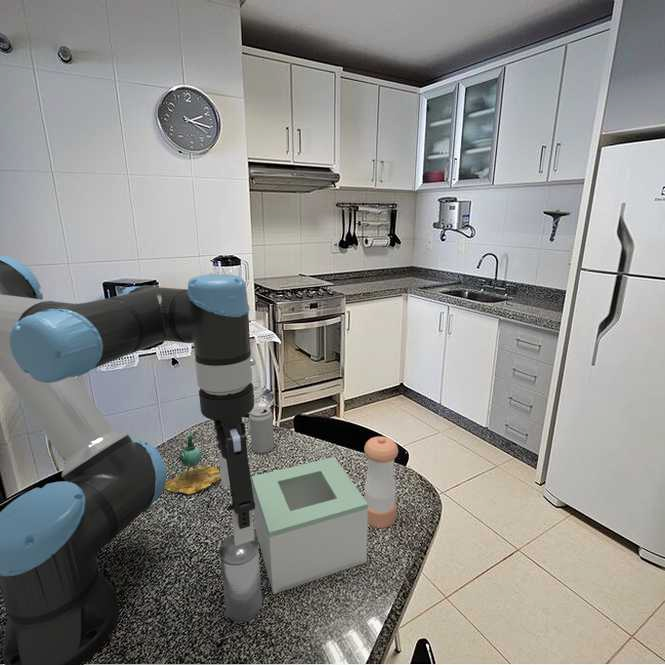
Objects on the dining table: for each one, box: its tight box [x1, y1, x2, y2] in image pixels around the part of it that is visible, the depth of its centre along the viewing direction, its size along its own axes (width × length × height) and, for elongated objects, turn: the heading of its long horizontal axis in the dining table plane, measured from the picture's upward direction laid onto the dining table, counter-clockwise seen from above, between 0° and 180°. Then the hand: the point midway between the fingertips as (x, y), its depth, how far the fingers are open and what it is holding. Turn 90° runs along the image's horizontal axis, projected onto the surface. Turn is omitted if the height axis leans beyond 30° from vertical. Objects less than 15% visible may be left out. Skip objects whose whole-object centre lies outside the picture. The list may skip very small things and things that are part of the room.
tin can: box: [218, 533, 263, 623], centre depth 66 cm, size 6×6×12 cm
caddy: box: [250, 456, 368, 595], centre depth 77 cm, size 18×16×13 cm
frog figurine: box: [164, 433, 221, 495], centre depth 97 cm, size 10×18×15 cm, turn 100°
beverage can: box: [248, 405, 275, 454], centre depth 111 cm, size 6×6×12 cm
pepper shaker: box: [363, 436, 399, 529], centre depth 84 cm, size 7×7×19 cm
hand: (236, 510), depth 62 cm, fingers open, 13 cm apart
